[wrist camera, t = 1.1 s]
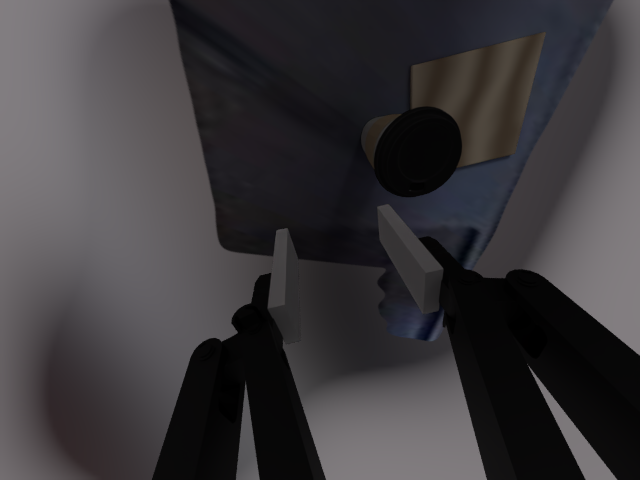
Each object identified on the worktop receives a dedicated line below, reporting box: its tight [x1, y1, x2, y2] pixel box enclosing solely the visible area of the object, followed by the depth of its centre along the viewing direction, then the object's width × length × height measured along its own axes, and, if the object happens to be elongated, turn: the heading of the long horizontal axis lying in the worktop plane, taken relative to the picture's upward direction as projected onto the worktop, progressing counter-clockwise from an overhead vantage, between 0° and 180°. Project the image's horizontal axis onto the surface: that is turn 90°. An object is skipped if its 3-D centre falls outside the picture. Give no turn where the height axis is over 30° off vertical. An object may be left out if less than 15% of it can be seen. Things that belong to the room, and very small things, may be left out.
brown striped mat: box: [410, 32, 546, 168], centre depth 36 cm, size 18×16×1 cm
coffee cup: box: [361, 106, 462, 197], centre depth 30 cm, size 9×9×15 cm
